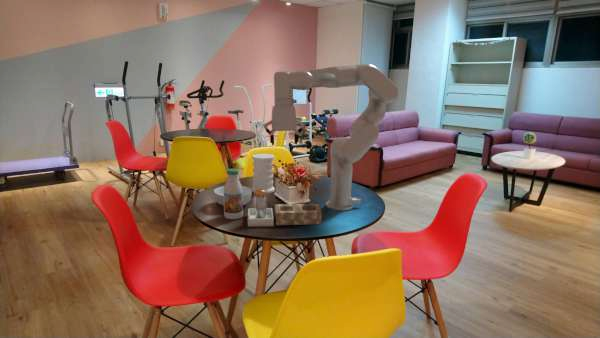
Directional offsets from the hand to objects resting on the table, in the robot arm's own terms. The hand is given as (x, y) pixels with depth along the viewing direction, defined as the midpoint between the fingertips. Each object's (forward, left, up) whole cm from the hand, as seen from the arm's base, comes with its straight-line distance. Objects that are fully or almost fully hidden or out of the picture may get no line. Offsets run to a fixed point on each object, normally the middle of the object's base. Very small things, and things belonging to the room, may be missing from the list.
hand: (284, 144), depth 155 cm
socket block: (-5, +11, -29) cm, 32 cm away
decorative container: (+8, -29, -30) cm, 42 cm away
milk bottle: (+21, +6, -30) cm, 37 cm away
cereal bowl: (+22, -7, -30) cm, 38 cm away
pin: (+10, +11, -28) cm, 32 cm away
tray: (+10, +11, -29) cm, 33 cm away
